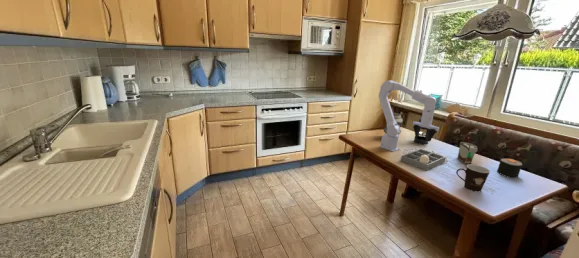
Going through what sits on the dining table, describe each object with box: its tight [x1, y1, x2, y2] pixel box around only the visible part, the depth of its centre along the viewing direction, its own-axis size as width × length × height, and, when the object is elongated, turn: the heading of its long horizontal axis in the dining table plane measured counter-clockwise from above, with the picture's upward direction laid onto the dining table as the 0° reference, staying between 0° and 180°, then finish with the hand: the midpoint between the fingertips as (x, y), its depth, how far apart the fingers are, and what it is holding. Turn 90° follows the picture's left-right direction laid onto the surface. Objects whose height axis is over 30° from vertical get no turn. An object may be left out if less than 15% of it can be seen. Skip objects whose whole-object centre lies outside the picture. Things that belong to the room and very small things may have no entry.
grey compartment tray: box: [400, 148, 447, 171], centre depth 142 cm, size 15×22×3 cm
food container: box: [457, 141, 478, 165], centre depth 144 cm, size 12×6×10 cm, turn 168°
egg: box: [419, 155, 429, 164], centre depth 135 cm, size 4×4×6 cm
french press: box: [413, 117, 434, 145], centre depth 172 cm, size 12×9×23 cm
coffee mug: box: [455, 163, 491, 193], centre depth 114 cm, size 12×9×10 cm
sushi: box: [496, 158, 523, 178], centre depth 130 cm, size 8×8×8 cm
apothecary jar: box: [383, 112, 404, 135], centre depth 180 cm, size 12×12×18 cm
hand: (422, 139), depth 149 cm, fingers open, 7 cm apart
